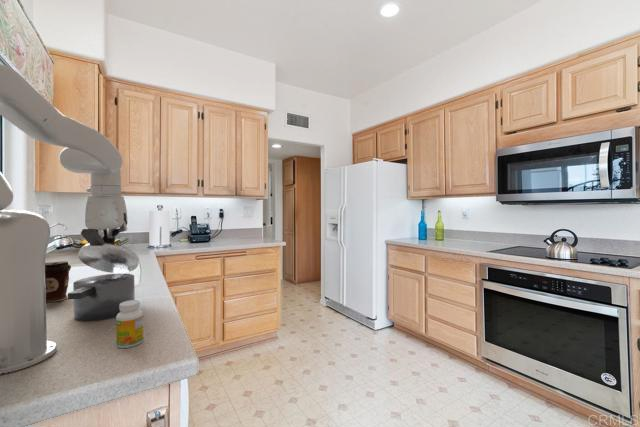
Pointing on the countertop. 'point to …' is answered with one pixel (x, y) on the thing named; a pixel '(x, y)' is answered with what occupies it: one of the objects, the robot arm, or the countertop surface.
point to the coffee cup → (56, 280)
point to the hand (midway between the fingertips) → (108, 250)
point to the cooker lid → (106, 254)
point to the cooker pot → (101, 296)
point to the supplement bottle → (129, 324)
